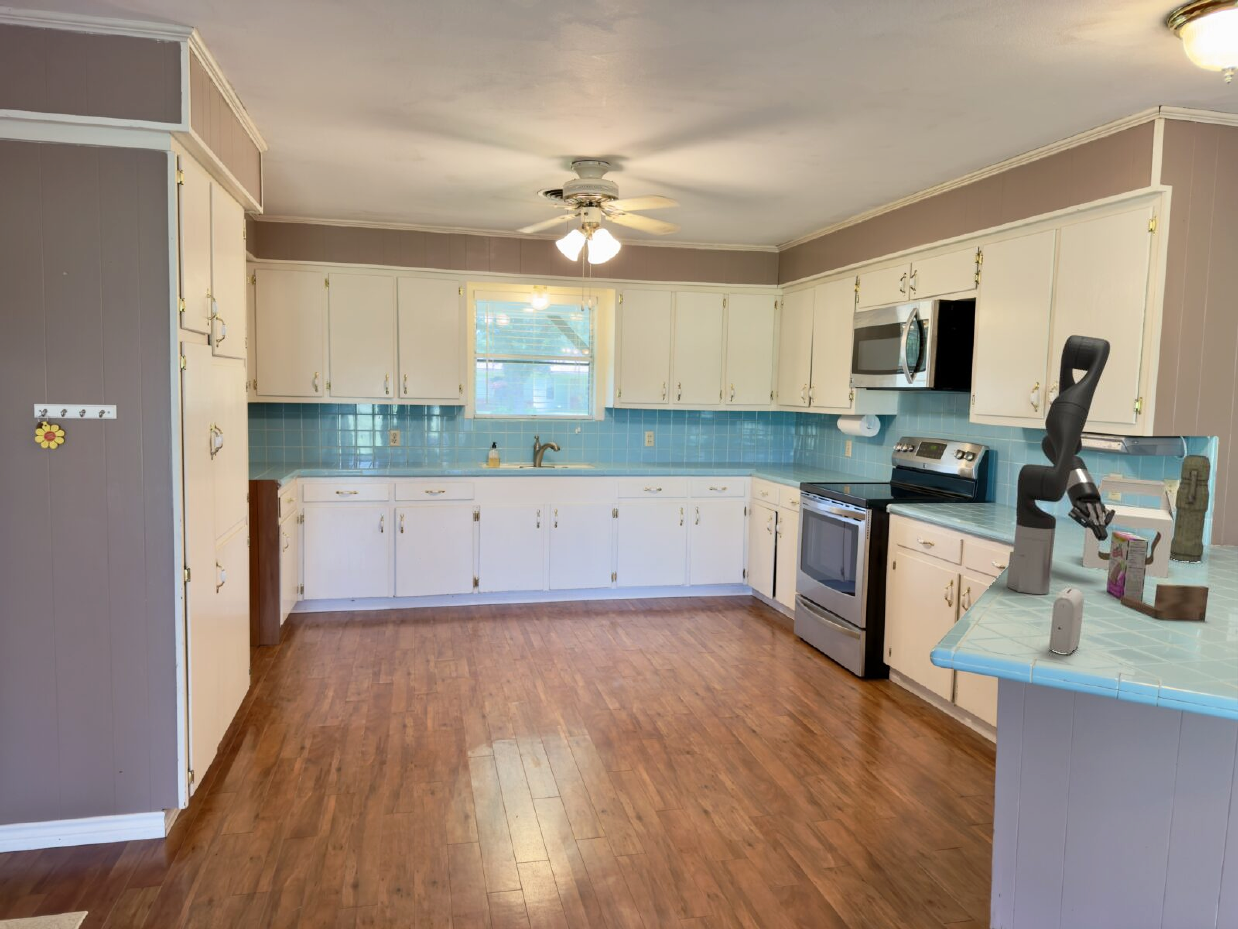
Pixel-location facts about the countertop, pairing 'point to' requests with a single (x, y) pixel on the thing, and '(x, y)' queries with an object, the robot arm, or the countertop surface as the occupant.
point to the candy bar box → (1127, 565)
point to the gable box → (1136, 523)
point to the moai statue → (1191, 509)
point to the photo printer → (1066, 621)
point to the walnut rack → (1174, 602)
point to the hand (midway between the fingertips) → (1103, 539)
